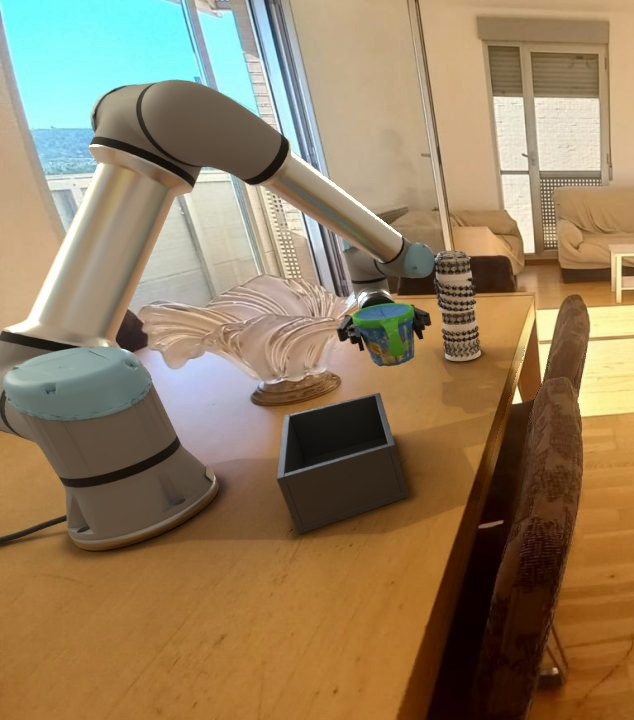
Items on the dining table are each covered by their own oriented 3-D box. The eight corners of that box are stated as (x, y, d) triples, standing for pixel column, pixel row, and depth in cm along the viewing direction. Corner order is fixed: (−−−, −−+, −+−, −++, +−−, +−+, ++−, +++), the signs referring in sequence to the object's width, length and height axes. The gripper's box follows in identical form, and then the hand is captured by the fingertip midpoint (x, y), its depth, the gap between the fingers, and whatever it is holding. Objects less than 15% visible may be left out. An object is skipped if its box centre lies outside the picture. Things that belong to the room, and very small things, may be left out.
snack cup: (428, 368, 89) (417, 316, 85) (366, 381, 84) (351, 327, 80) (418, 342, 102) (408, 296, 97) (364, 352, 97) (351, 305, 93)
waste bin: (298, 535, 62) (276, 479, 58) (301, 463, 77) (283, 415, 73) (408, 497, 68) (394, 444, 65) (391, 437, 83) (379, 392, 79)
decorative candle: (466, 346, 122) (454, 247, 113) (490, 353, 117) (481, 251, 108) (435, 356, 115) (421, 252, 106) (460, 364, 110) (447, 256, 101)
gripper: (433, 315, 111) (455, 344, 94) (325, 334, 101) (328, 370, 83) (426, 284, 108) (449, 308, 91) (315, 300, 98) (316, 330, 80)
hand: (391, 338), depth 87 cm, fingers closed on snack cup, 9 cm apart
